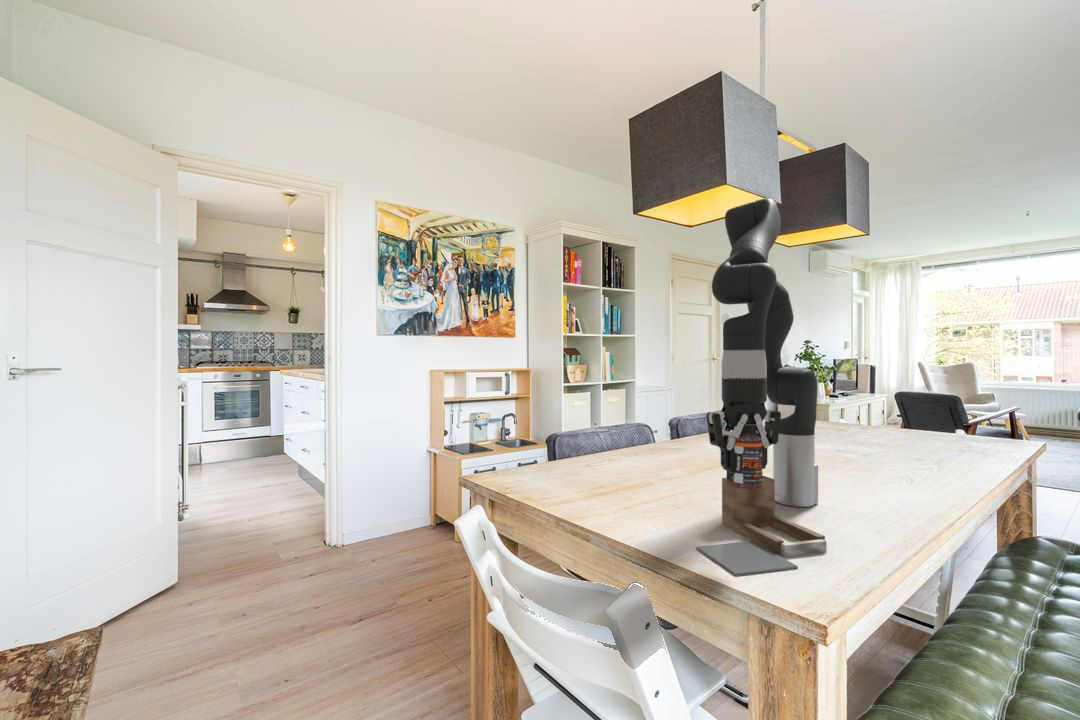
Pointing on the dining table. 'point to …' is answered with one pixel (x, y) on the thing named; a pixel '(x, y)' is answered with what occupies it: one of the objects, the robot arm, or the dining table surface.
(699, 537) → the dining table surface
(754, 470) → the supplement bottle
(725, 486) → the dispenser
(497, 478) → the dining table surface
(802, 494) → the robot arm
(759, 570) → the plate
